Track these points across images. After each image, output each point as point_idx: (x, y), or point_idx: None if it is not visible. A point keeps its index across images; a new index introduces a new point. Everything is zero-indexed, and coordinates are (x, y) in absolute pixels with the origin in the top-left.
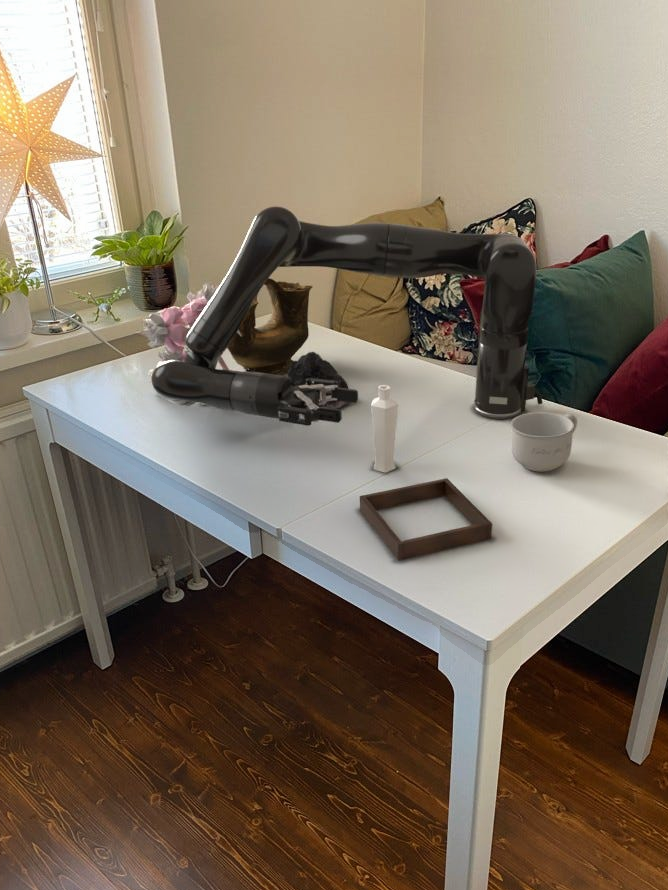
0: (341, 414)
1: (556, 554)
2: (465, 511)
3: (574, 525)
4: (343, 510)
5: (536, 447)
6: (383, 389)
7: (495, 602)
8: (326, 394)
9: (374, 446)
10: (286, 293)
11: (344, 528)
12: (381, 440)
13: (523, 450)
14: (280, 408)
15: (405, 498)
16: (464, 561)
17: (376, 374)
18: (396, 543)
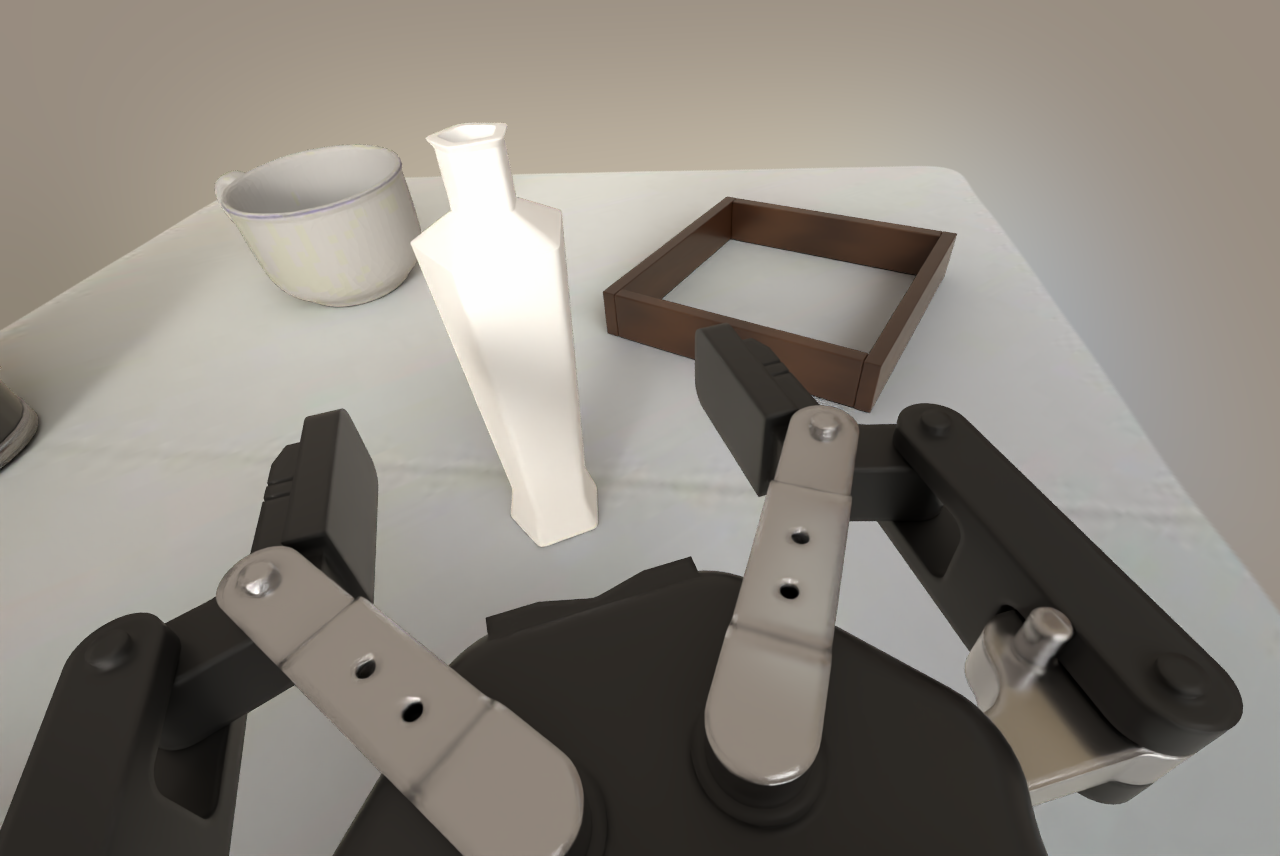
0: (696, 353)
1: (693, 187)
2: (688, 260)
3: (589, 199)
4: None
5: (409, 192)
6: (501, 125)
7: (880, 182)
8: (229, 798)
9: (579, 447)
10: None
11: (978, 393)
12: (577, 387)
13: (406, 223)
14: (1209, 663)
15: None
16: None
17: None
18: (953, 240)
